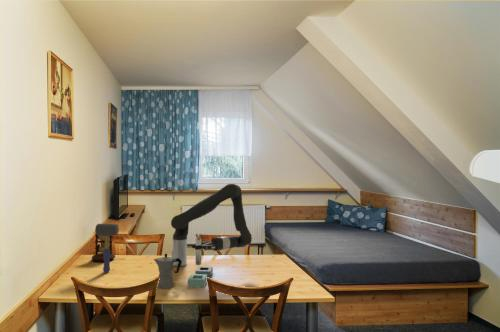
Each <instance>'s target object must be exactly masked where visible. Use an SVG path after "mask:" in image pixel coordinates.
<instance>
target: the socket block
mask: <svg viewBox="0 0 500 332" xmlns="http://www.w3.org/2000/svg"><path fill="white" fill-rule="evenodd" d="M213 267H214V266H204V265H203V266H200V265H197V268H196V269H195V272H194V274H204V275H207V277H212V276H213V274H214V273H213V270H214V269H213Z"/></svg>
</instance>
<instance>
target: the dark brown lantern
mask: <svg viewBox="0 0 500 332" xmlns="http://www.w3.org/2000/svg"><path fill="white" fill-rule="evenodd" d="M94 236H95V240H94V243H95V246H94V249H95V253H94V255H92V256H91V260H92V261H93V262H95V261H98V262H102V261H103V262H104V257H103V255H104V249H105V236H102V235H96V233H95V234H94ZM112 246H113V235H112V236H109V249H110V260H113V259H115V258H116V255H115V253H113V252H112V251H113V250H112V249H113V247H112Z"/></svg>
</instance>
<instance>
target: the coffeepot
mask: <svg viewBox="0 0 500 332" xmlns="http://www.w3.org/2000/svg"><path fill="white" fill-rule="evenodd" d="M153 261H154V262H155V263H156V265H157V266H158V271H159V273H158V277H159V278H160V280H159V283H158V282H157V283H158V287H157V288H158V289H162V290H167V289H171V288H173V287H174V279H173V273H172V272H173V271H174V270H173V269H174V265H173V264H174V262H179V263H178V266H176V270H175V271H174V274H178V273H179V270H180V268H181V267H182V266H181V263H182V261H181V260H180V259H179V258H173V257H172V256H168V253H164V256H162V257H157V258H154V259H153Z"/></svg>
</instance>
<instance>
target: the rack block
mask: <svg viewBox="0 0 500 332" xmlns="http://www.w3.org/2000/svg"><path fill="white" fill-rule="evenodd" d="M206 277H207V275H204V274H195V273H191V274H190V275H189V277H188V278H187V287H188V286H192V287H191V288H205V287H206V284H207V283H206Z"/></svg>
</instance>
